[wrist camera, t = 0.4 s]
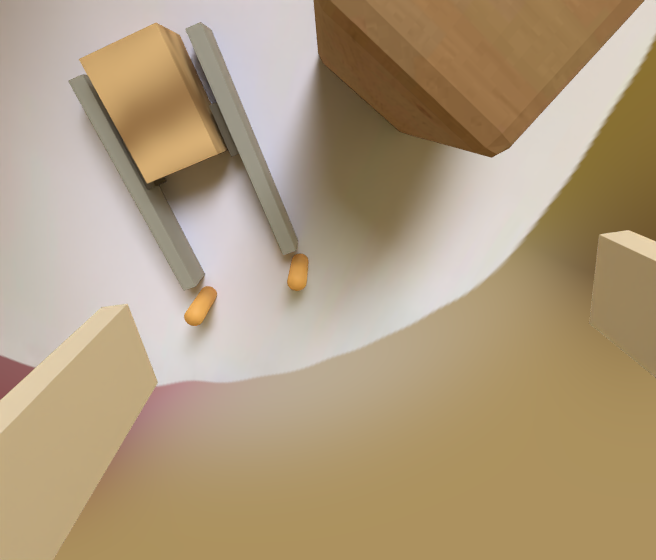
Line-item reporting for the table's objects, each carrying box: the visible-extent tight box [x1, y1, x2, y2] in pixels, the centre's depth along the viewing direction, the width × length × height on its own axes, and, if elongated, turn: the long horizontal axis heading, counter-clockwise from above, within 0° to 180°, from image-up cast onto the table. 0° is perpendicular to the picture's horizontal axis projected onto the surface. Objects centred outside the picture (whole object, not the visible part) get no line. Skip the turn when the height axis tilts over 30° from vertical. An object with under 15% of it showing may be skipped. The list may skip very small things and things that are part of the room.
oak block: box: [79, 23, 228, 183], centre depth 32 cm, size 9×6×5 cm, turn 21°
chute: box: [69, 22, 308, 326], centre depth 34 cm, size 21×11×5 cm, turn 20°
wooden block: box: [314, 0, 644, 158], centre depth 23 cm, size 10×10×20 cm
